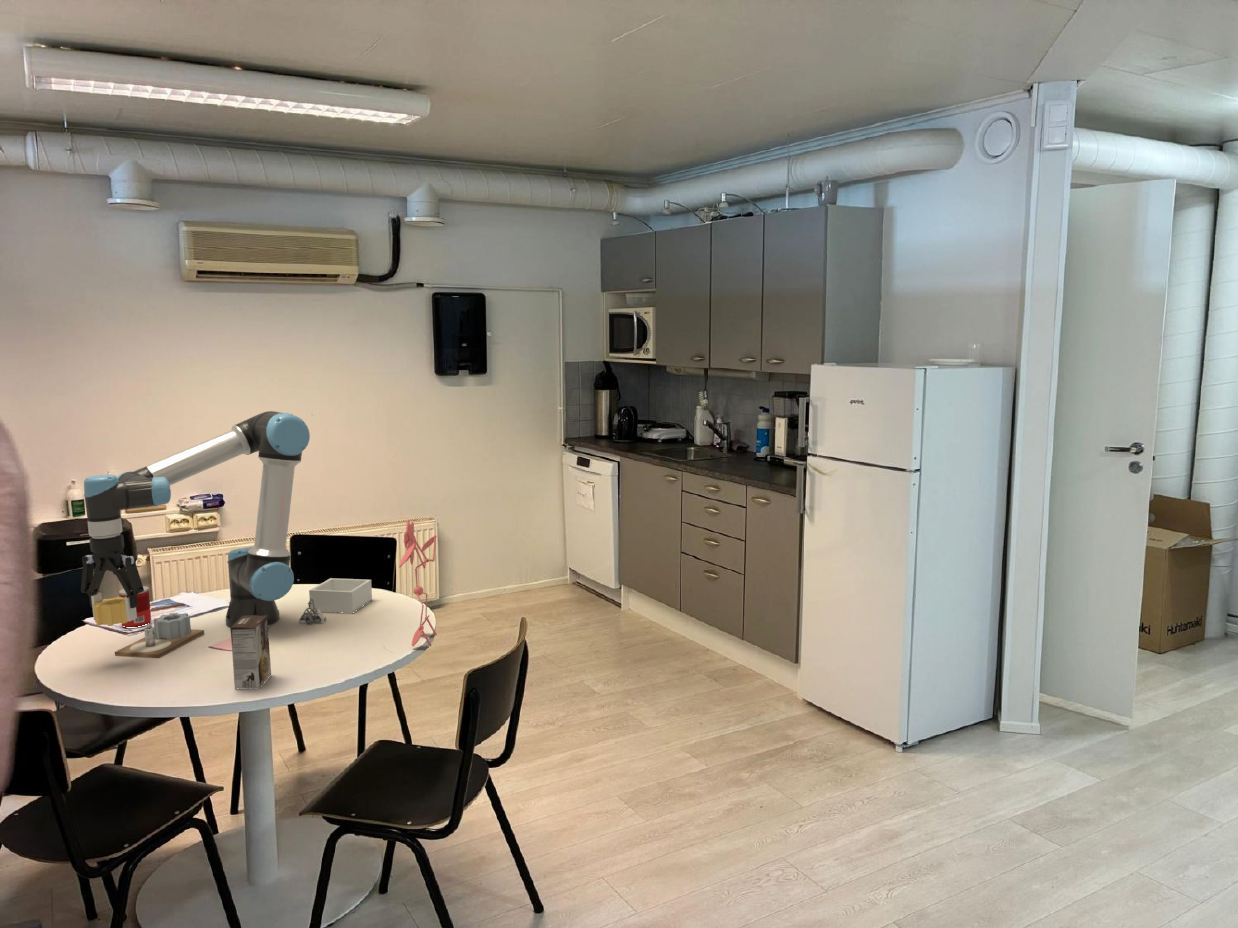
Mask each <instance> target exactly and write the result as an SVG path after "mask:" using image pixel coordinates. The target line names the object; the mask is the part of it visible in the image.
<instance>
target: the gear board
mask: <svg viewBox="0 0 1238 928" xmlns="http://www.w3.org/2000/svg"><path fill="white" fill-rule="evenodd" d="M204 635H205V629H191V633H190V634H186V635H185V637H182V638H180V637H177V638H172V639H171V640H167V639H157V638H156V636H155V644H156V645H155V646H153V647H146V643H145V636H144V637H142V638H140V639H139V640H136V641H134V642H132V643H130V644H128V645H127V646H125V647H122V648H121V649H118V650H116V651H114V656H115V657H116V656H117V657H132V658H133V657H134V658H146V659H147V658H150V659H161V658H162V657H164V656H166V655H168V654H170V653H172V652H173V651H175V650H177V649H180V648H182V647H183V646H184V645H186V644H188V643H191V642H192V641H194V640H196V639H198V638H200V637H201V636H204Z"/></svg>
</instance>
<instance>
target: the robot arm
mask: <svg viewBox="0 0 1238 928" xmlns="http://www.w3.org/2000/svg"><path fill="white" fill-rule="evenodd" d="M309 443H310V430H309V427H308V425H307V423H306V422H305V421H304V420H303V418H301V417H299V416H297V415H294V414H293V413H289V412H280V411H273V410H271V411H270V410H269V411H264V412H260V413H258V414H256V415H254V416H251V417H249V418H248V419H246V420H243V421H240V422H239V423H236V424H234V425H232V427H231V429H230V430H228V431H227V432H224V433H222V434H219V435H216V436H214V437H212V438H210V439H209V438H208V439H207V440H205V441H202V442H200V443H198V444H195V445H193V446H190V447H189V448H186V449H184V450H181V451H180V452H176V453H175V454H172V455H170V456H167V457H165V458H163V459H160V460H158V461H155V462H153V463H150V464H148V465H145V466H144V467H141V468H138V469H136V470H133V471H125V472H122V473H120V474H119V475H115V474H97V475H90V476H88V477H86V478H85V479H83V491H84V495H83V496H84V505H85V510H86V518H87V529H88V531H87V532H88V535H89V537H90V538H89V547H90V552H91V553H92V554H88V555H87V554H86V555H85V556H82V557H81V562H82V573H81V583H80V592H81V593H82V594H87V595H88V599H89V606H90V607H91V608H92V614H93V615H92V616H93V621H95V616H94V606H93V604H94V603H98V602H101V601H102V600H103V598H102V596H103V595H102V592H101V591H100V587H101V585H102V581H103V580H104V575H105V574H106V572H107V571H108V572H112V574H113V575H115V577H116V578H117V579H118V581H119V583H120V585H121V586H122V589H124V590H125V592H126V594H127V596H126V597H125V605H126V614H127V621H132V620H134V619H136V618H137V613H136V607H137V606H138V601H137V594H139V593H141V592H143V591H144V588H143V586H144V585H143V582H142V579H141V577H140V572H139V570H138V567H137V556H136V555H134V554H133V555H130V556H129V555H126V554H125V553H124V548H125V542H124V534H122V532H123V524H122V513H121V511H127V510H133V509H142V508H149V507H158V506H162V505H167V504H169V503H170V501H171V497H172V495H171V494H172V492H171V491H172V490H171V486H172V485H175V484H177V483H180V482H181V481H184V480H185V479H188V478H190V477H192V476H195V475H197V474H200V473H202V472H204V471H208V469H211V468H213V467H215V466H218V465H221V464H222V463H225V462H227V461H229V460H231V459H234V458H237V457H239V456H241V455H246V456H249V455H251V454H254V453H257V452H258V459H259V461H261V463H262V472H261V480H260V481H261V482H260V491H259V500H258V509H257V518H256V526H255V527H256V528H255V537H254V545H253V546H246V547H240V548H236V549H232V550H230V551H229V552H228V554H227V565H228V566H227V568H228V579H229V580H228V583H229V593H230V599H229V603H228V604H229V605H228V607H227V611H226V615H225V625H226V627H227V628H230V629H231V626H233V625H234V624H235V623H236V622H237V621H238V620H239V619H240V618H241V617H242V616H250V615H258V616H266V615H267V621H268V626H271V625H273V624H275V623H277V622H279V620H280V618H281V617H280V610H279V608H278V605H277V603H276V602H275V601H277V600H280V599H282V598H283V597H284V596H286V595H287V594H288V593H290V590H291V589H292V587H293V585H294V582H295V577H294V571H293V570H292V568H291V567H290V563H291V555H292V553H291V552H290V551H289V550H288V549H287V539H288V532H289V531H288V529H289V523H290V522H289V521H290V512H291V503H292V497H293V496H292V495H293V494H292V493H293V485H294V477H295V476H294V475H295V470H296V469H295V468H296V466H297V465H298V464H300V463H301V461H302V453H303V451H304V450H306V448H307V447H308V445H309Z"/></svg>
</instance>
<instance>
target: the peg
mask: <svg viewBox="0 0 1238 928" xmlns="http://www.w3.org/2000/svg"><path fill="white" fill-rule="evenodd" d="M144 637H145V643H146V647H153V646H155V645H156V644H155V630H154V627H153V626H152V623H150V624H147V626H146V627H145V628H144Z"/></svg>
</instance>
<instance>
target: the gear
mask: <svg viewBox="0 0 1238 928" xmlns="http://www.w3.org/2000/svg"><path fill="white" fill-rule="evenodd" d="M153 625H154V631H155V636H156V638H157V639H167V640H171V639H172V638H177V637H180V638H182V637H185V635H186V634H190V633H191V630H192V627H191V616H190V615H189V613H187V612H184V613H178V612H170V613H169V614H161V615H160V617H155V618H154V619H153Z"/></svg>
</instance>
